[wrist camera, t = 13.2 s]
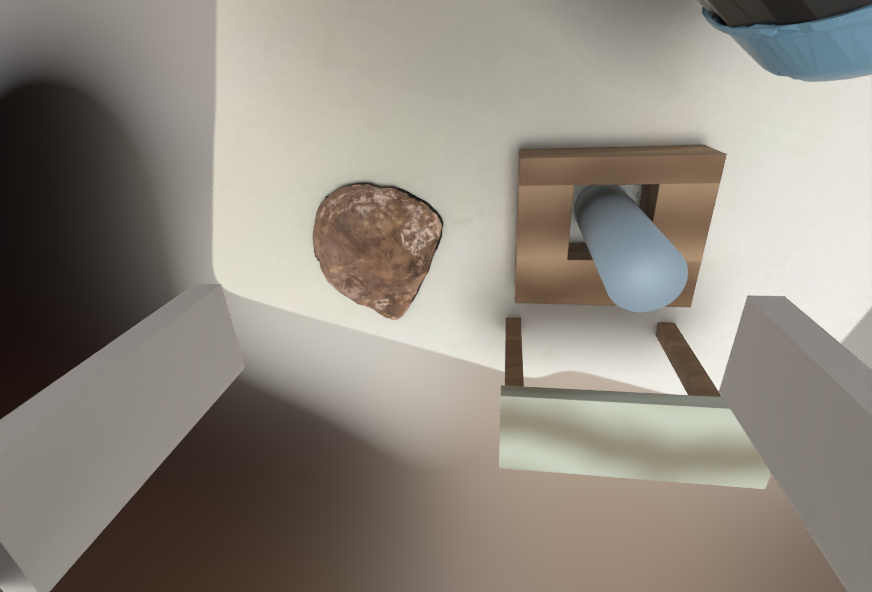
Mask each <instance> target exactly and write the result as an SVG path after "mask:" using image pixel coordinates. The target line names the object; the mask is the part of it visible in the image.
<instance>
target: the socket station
mask: <svg viewBox="0 0 872 592" xmlns="http://www.w3.org/2000/svg"><path fill="white" fill-rule="evenodd" d="M726 155H727V154H725V153H723V152H720V151H718V150H715V149H713V148H710V147H708V146H706V145H686V146H645V147H605V148H564V149H523V150H519V171H518V199H517V228H516V256H515V303H540V304H579V305H616V304H615V303H614V302H613V301H612V300H611V299H610V297H609V296H608V293H607V291H606V289H605V286H604V284H603V282H602V279H601V277H600V275H599V272H598V270H597V268H596V265H595V263H594V261H593V258H592V256H591V254H590V251H589V249H588V247H587V244H586V243H569V235H570V224H571V213H572V202H573V191H574V185H625V184H643V189H642V195H641V202H640V209H641V210H642V211H643V212H644V213H645V215H646V216H647V217H648V218H649V219H650V220H651V221H652V222H653V223H654V224H655V226H656V227H657V228H658V229H659V230H660V231H661V232H662V233H663V234H664V236H665V237H666V238H667V239H668V240H669V241H670V242H671V243H672V244H673V245H674V247H675V248H676V249H677V250H678V251H679V252H680V253H681V254H682V256H683V257H684V259H685V261H686V263H687V267H688V278H687V282H686V285H685V287H684V289H683V290H682V292H681V293H680V295H679V296H678V297H677V298H676V299H675V300H674V301H672V302H671V303H670V304H668V305H667V306H665V307H691V303H692V299H693V294H694V290H695V286H696V282H697V278H698V273H699V269H700V265H701V261H702V256H703V252H704V248H705V244H706V239H707V235H708V231H709V227H710V223H711V218H712V214H713V210H714V206H715V201H716V197H717V193H718V189H719V184H720V180H721V176H722V172H723V168H724V163H725V159H726ZM656 337H657V338H658V340H659V342H660V344H661V346H662V348H663V349H664V351H665V353H666V355H667V357H668V359H669V361H670V362H671V364H672V366H673V368H674V370H675V372H676V373H677V375H678V377H679V379H680V381H681V383H682V385H683V386H684V388H685V390H686V392H687V394H688V395H672V394H653V393H633V392H614V391H596V390H577V389H576V390H575V389H558V388H539V387H524V383H523V361H522V339H521V318H506V343H505V386H501V410H500V455H499V468H507V469H520V470H533V471H545V472H557V473H571V474H582V475H595V476H608V477H620V478H621V477H622V478H633V479H645V480H658V481H670V482H683V483H696V484H709V485H721V486H733V487H746V488H759V489H765V488H766V485H767V483H768V480H769V478H770V476H771V472H770V470H769V469H768V467H767V466H766V464H765V462H764V461H763V459H762V458H761V456H760V455H759V453H758V452H757V450H756V448H755V447H754V445H753V444H752V442H751V441H750V439H749V438H748V436H747V434H746V433H745V431H744V430H743V428H742V427H741V425H740V424H739V422H738V420H737V419H736V417H735V416H734V414H733V413H732V411H731V409H730V408H729V406H728V405H727V403H726V402H725V400H724V399H723V397H722V396H721V395H720V393H719V392H718V390H717V389H716V387H715V385H714V384H713V382H712V381H711V379H710V378H709V376H708V375H707V373H706V371H705V370H704V368H703V367H702V365H701V364H700V362H699V360H698V359H697V357H696V356H695V354H694V353H693V351H692V349H691V348H690V346H689V345H688V343H687V342H686V340H685V339H684V337H683V335H682V334H681V332H680V331H679V329H678V328H677V326H676V324H675V323H658V328H657V333H656Z"/></svg>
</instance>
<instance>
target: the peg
mask: <svg viewBox="0 0 872 592" xmlns="http://www.w3.org/2000/svg"><path fill="white" fill-rule="evenodd" d="M574 213H575V218H576V221H577V223H578V225H579V228H580V230H581V233H582V235H583V237H584V240H585V242H586V244H587V247H588V249H589V251H590V254H591V256H592V258H593V261H594V263H595V265H596V268H597V270H598V272H599V275H600V277H601V279H602V282H603V284H604V286H605V289H606V291H607V293H608V296H609V297H610V299H611V300H612V301H613V302H614V303H615V304H616V305H618V306H619V307H621V308H623V309H625V310H628V311H632V312H651V311H655V310H658V309H661V308H663V307H665V306H667V305H668V304H670V303H671V302H672V301H674V300H675V299H676V298H677V297H678V296H679V295H680V293H681V292H682V290H683V289H684V287H685V285H686V282H687V278H688V267H687V263H686V261H685V259H684V257H683V256H682V254H681V253H680V252H679V251H678V250H677V249H676V248H675V247H674V245H673V244H672V243H671V242H670V241H669V240H668V239H667V238H666V237H665V236H664V234H663V233H662V232H661V231H660V230H659V229H658V228H657V227H656V226H655V224H654V223H653V222H652V221H651V220H650V219H649V218H648V217H647V216H646V215H645V213H644V212H643V211H642V210H641V209H640V208H639V207H638V206H637V205H636V203H635V202H634V201H633V200H632V199H631V198H630V197H629V196H628V195H627V194H626V192H625V191H624V190H623V189H622V188H620V187H619V186H617V185H592V186H590V187H589V188H587V189H586V190H585V191H583V192H582V193H581V195H580V196H579V198H578V199H577V201H576V204H575V209H574Z"/></svg>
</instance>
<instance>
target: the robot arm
mask: <svg viewBox="0 0 872 592" xmlns="http://www.w3.org/2000/svg"><path fill="white" fill-rule="evenodd" d="M698 2H699V3H700V4H701V5H702V14H703V15H704V17H705V18H706V19H707V21H708V22H709V23H710V24H711V25H712V26H713V27H714V28H716V29H718V30H720V31H722V32H724V33H727V34H729V35H730V36H731V37H732V38H733V39H734V40H735V41H736V42H737V43H738V44H739V45H740V46H741V47H742V48H743V49H744V50H745V51H746V52H747V53H748V54H749V55H750V56H751V57H752V58H753V59H754V60H755V61H756V62H757V63H758V64H759V65H760V66H761V67H762V68H764V69H765V70H767V71H769V72H771V73H773V74H775V75H778V76H788V77H790V78H793V79H799V80H802V81H809V82H820V81H835V80H843V79H850V78H856V77H862V76H867V75H871V74H872V0H698ZM244 368H245V366H244V362H243V359H242V356H241V352H240V349H239V345H238V342H237V338H236V335H235V331H234V328H233V325H232V321H231V318H230V314H229V311H228V308H227V304H226V300H225V297H224V293H223V290H222V287H221V284H194V285H193V286H191V287H190V288H189V289H187V290H186V291H184V292H183V293H181V294H180V295H178V296H177V297H176V298H174V299H173V300H171V301H170V302H169V303H167V304H166V305H164V306H163V307H161V308H160V309H158V310H157V311H156V312H154V313H153V314H151V315H150V316H149V317H147V318H146V319H144V320H143V321H141V322H140V323H138V324H137V325H135V326H134V327H133V328H131V329H130V330H128V331H127V332H125V333H124V334H123V335H121V336H120V337H118V338H117V339H115V340H114V341H113V342H111V343H110V344H108V345H107V346H105V347H104V348H103V349H101V350H100V351H98V352H97V353H95V354H94V355H92V356H91V357H90V358H88V359H87V360H85V361H84V362H82V363H81V364H80V365H78V366H77V367H75V368H74V369H72V370H71V371H70V372H68V373H67V374H65V375H64V376H63V377H61V378H60V379H58V380H57V381H56V382H54V383H52V384H51V385H50V386H48V387H47V388H45V389H44V390H42V391H41V392H39V393H37V394H36V395H34V396H33V397H31V398H30V399H28V400H27V401H25V402H24V403H23V404H21V405H20V406H18V407H17V408H15V409H14V410H12V411H11V413H9V414H8V415H5V416H4V417H2V418H1V419H0V588H1V589H2V590H3V592H49V591H50V590H51V589H52V588H53V587H54V586H55V584H56V583H57V582H58V581H59V580H60V578H62V576H63V575H64V574H65V573H66V572H67V571H68V570H69V568H70V567H71V566H72V565H73V564H74V563H75V561H76V560H77V559H78V558H79V557H80V556H81V555H82V553H83V552H84V551H85V550H86V549H87V548H88V547H89V546H90V544H91V543H92V542H93V541H94V540H95V539H96V538H97V536H98V535H99V534H100V533H101V532H102V531H103V529H104V528H105V527H106V526H107V525H108V524H109V523H110V521H111V520H112V519H113V518H114V517H115V516H116V515H117V513H118V512H119V511H120V510H121V509H122V508H123V507H124V505H125V504H126V503H127V502H128V501H129V500H130V499H131V497H132V496H133V495H134V494H135V493H136V492H137V491H138V489H139V488H140V487H141V486H142V485H143V484H144V483H145V481H146V480H147V479H148V478H149V477H150V476H151V475H152V473H153V472H154V471H155V470H156V469H157V468H158V466H159V465H160V464H161V463H162V462H163V461H164V460H165V458H166V457H167V456H168V455H169V454H170V453H171V452H172V450H173V449H174V448H175V447H176V446H177V445H178V444H179V442H180V441H181V440H182V439H183V438H184V437H185V435H186V434H187V433H188V432H189V431H190V430H191V429H192V428H193V426H194V425H195V424H196V423H197V422H198V421H199V420H200V418H201V417H202V416H203V415H204V414H205V412H206V411H207V410H208V409H209V408H210V407H211V406H212V405H213V403H214V402H215V401H216V400H217V399H218V398H219V397H220V395H221V394H222V393H223V392H224V391H225V390H226V389H227V387H228V386H229V385H230V384H231V383H232V382H233V381H234V379H235V378H236V377H237V376H238V375H239V374H240V373H241V371H242V370H243V369H244ZM719 392H720V394H721V395H722V397H723V399H724V400H725V402H726V403H727V405H728V406H729V408H730V409H731V411H732V413H733V414H734V416H735V417H736V419H737V420H738V422H739V424H740V425H741V427H742V428H743V430H744V431H745V433H746V434H747V436H748V438H749V439H750V441H751V442H752V444H753V445H754V447H755V448H756V450H757V452H758V453H759V455H760V456H761V458H762V459H763V461H764V462H765V464H766V466H767V467H768V469H769V470H770V472H771V473H772V475H773V477H774V478H775V480H776V481H777V483H778V484H779V486H780V487H781V489H782V491H783V492H784V494H785V495H786V497H787V498H788V500H789V501H790V503H791V505H792V506H793V508H794V509H795V511H796V512H797V514H798V515H799V517H800V519H801V520H802V522H803V523H804V525H805V526H806V528H807V529H808V531H809V532H810V534H811V536H812V537H813V539H814V540H815V542H816V543H817V545H818V546H819V548H820V550H821V551H822V553H823V554H824V556H825V558H826V559H827V561H828V562H829V564H830V565H831V567H832V568H833V570H834V571H835V573H836V575H837V576H838V578H839V579H840V581H841V583H842V584H843V586H844V587H845V589H846V590H847V592H872V370H871V369H870V368H869V367H867V366H866V365H865V364H864V363H863V362H862V361H861V360H859V359H858V358H857V357H856V356H855V355H853V354H852V353H851V352H850V351H849V350H848V349H846V348H845V347H844V346H843V345H842V344H840V343H839V342H838V341H837V340H836V339H835V338H833V337H832V336H831V335H830V334H829V333H827V332H826V331H825V330H824V329H823V328H821V327H820V326H819V325H818V324H817V323H816V322H814V321H813V320H812V319H811V318H810V317H808V316H807V315H806V314H805V313H804V312H802V311H801V310H800V309H799V308H798V307H797V306H795V305H794V304H793V303H792V302H791V301H789V300H788V299H787V298H786V297H785V296H747V299H746V303H745V306H744V309H743V313H742V316H741V319H740V323H739V326H738V329H737V333H736V336H735V340H734V343H733V346H732V350H731V353H730V356H729V360H728V363H727V366H726V370H725V373H724V377H723V380H722V383H721V387H720V390H719Z"/></svg>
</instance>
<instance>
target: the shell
mask: <svg viewBox="0 0 872 592" xmlns="http://www.w3.org/2000/svg"><path fill="white" fill-rule="evenodd" d="M442 227H443V221H442V219H441V217H440V215H439V214H438V212H437V211H436V210H435V209H434V208H433V207H432V206H431V205H429V204H428V203H427V202H425V201H424V200H422V199H420V198H418V197H416V196H414V195H412V194H410V193H409V192H407V191H405V190H403V189H400V188H396V187H392V188H379V187H377V186H375V185H372V184H367V183H358V184H352V185H348V186H345V187H341V188H339V189H338V190H337V191H335V192H334V193H332V194H331V195H330V196H326V198H325V200H324V201H323V202H322V203H321V205H320V207H319V208H318V211H317V214H316V219H315V225H314V230H313V245H314V253H315V257H316V258H317V260H318V261H319V262H320V267H321V270H322V272H323V274H324V275H325V277H326V279H327V281H328V282H329V283H330V284H331V285H332V286H333V287H334V288H335V289H337V290H338V291H339V292H340V293H342V294H343V295H344V296H346V297H348V298H350V299H351V300H353V301H354V302H356V303H357V304H360V305H364V306H367V307H370V308H372V309H374V310H375V311H376V312H378V313H379V314H381V315H382V316H384V317H386V318H390V319H392V320H397V319H399V318H401V317H402V316H403V315H404V314H405V312H406V311H407V309H408V308H409V305H410V304H411V303H412V301H413V300H414V298H415V297H416V295H417V293H418V291H419V289H420V286H421V284H422V282H423V280H424V278H425V276H426V275H427V273H428V271H429V269H430V265H431V262H432V258H433V256H434V253H435V252H434V250H437V248H438V246H439V243H440V240H441V237H442Z"/></svg>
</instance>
